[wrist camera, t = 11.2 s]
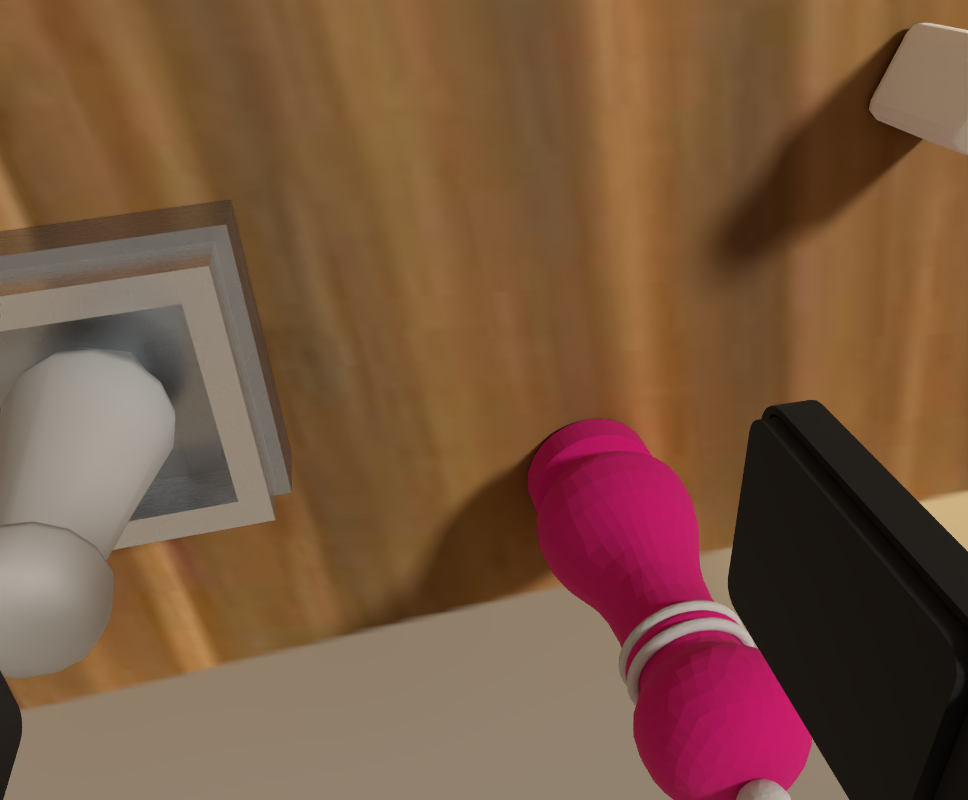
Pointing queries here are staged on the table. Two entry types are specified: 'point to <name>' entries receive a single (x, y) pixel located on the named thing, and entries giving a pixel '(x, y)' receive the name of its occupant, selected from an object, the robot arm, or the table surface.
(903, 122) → the salt shaker
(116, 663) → the table surface
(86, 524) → the salt shaker
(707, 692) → the pepper mill
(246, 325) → the grey square tray
